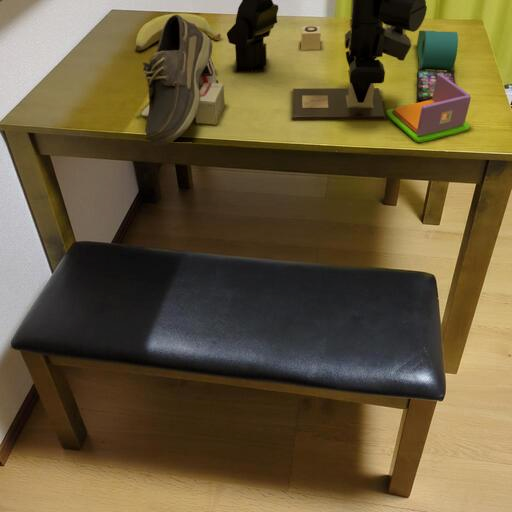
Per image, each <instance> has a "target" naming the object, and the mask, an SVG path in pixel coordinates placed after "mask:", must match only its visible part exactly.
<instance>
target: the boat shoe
mask: <svg viewBox="0 0 512 512" xmlns="http://www.w3.org/2000/svg"><path fill="white" fill-rule="evenodd" d="M212 54H213V42H212V40H211V38H210V37H209V36H208V34H205V33H203V32H201V31H200V30H199V29H198V28H197V27H196V25H195V24H193V23H190V22H187V21H186V20H184V19H183V18H182V17H181V16H179V15H173V16H171V17H170V18H169V19H168V20H167V22H166V24H165V26H164V28H163V31H162V34H161V38H160V40H158V45H157V49H156V52H154V53H152V54H151V56H150V58H149V62H145V61H143V62H142V65H143V68H142V69H141V72H142V73H143V74H145V77H144V79H145V80H147V81H146V82H147V87H148V100H149V101H148V105H149V114H148V117H147V120H146V125H145V134H146V136H147V139H148V140H149V142H151V144H152V145H153V146H155V147H162V146H166V145H168V144H170V143H172V142H174V141H175V140H177V139H178V138H180V137H181V136H182V135H183V134H184V133H185V131H187V129H189V127H190V125H191V124H192V122H193V121H194V119H195V116H196V114H197V111H198V109H199V105H200V91H199V79H200V76H201V74H202V72H203V70H204V69H205V67H206V65H207V64H208V62H209V59H210V57H212Z"/></svg>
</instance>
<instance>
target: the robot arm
mask: <svg viewBox="0 0 512 512" xmlns="http://www.w3.org/2000/svg"><path fill="white" fill-rule="evenodd" d="M427 10H428V5H427V1H426V0H352V6H351V18H350V19H349V30H348V31H347V32H346V33H345V34H344V49H346V50H347V49H348V51H346V52H345V56H346V62H347V65H348V70H347V72H348V78H349V80H350V82H351V83H352V86H353V89H354V92H355V95H356V98H357V101H358V102H359V103H363V102H364V100H365V97H366V95H367V92H368V89H369V87H370V85H371V83H373V84H383V83H384V82H385V76H386V70H385V67H384V64H383V62H381V60H380V59H377V58H383V54H385V55H387V56H389V57H393V58H396V59H397V60H398V61H402V62H403V61H405V58H406V57H407V55H408V53H409V51H410V49H411V47H412V42H411V39H410V37H409V36H408V35H407V34H406V33H405V34H404V35H403V29H404V30H406V31H409V32H412V33H413V32H417V31H418V30H419V29H420V28H421V26H422V24H423V23H424V20H425V18H426V14H427ZM236 12H237V13H236V17H235V22H234V24H233V25H232V26H231V27H230V29H229V30H228V31H227V32H226V36H227V40H228V43H229V44H231V45H234V50H235V68H234V70H235V72H264V71H265V66H266V65H267V61H268V59H267V57H268V56H267V54H268V53H267V43H266V42H264V41H265V39H264V38H267V37H269V36H270V35H271V31H272V29H273V28H274V27H275V24H277V23H278V13H279V5H278V4H275V3H274V1H273V0H242V1H240V4H239V5H238V8H237V11H236ZM385 24H386V25H389V26H391V27H390V28H387V29H385V27H384V25H385Z"/></svg>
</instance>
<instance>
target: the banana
mask: <svg viewBox="0 0 512 512" xmlns="http://www.w3.org/2000/svg"><path fill="white" fill-rule="evenodd" d="M173 15H179V16H181V17H182V18H183V19H184V20H186V21H187V22H190V23H193V24H195V25H196V27H197V28H198V29H199V30H200V31H201V32H203V33H205V34H206V35H209V36H210V37H212V38H214V40H215V41H219V40H220V39H221V33H219V32H216V31H213V29H212V28H211V26H210V24H209V22H208V20H207V19H206V18H204V17H202V16H200V15H198V14H195V13H194V14H193V13H181V12H180V13H168V14H164V15H161V16H157V17H155V18H152V19H151V20H149V21H147V22H146V23H145V24H144V25H143V26H141V28H140V30H139V31H138V32H137V35H136V38H135V48H136V50H137V51H144V50H146V49H147V48H149V47H150V46H152V45H153V44H155V43H156V42H159V41H160V38H161V34H162V31H163V28H164V26H165V24H166V22H167V20H168V19H169V18H170V17H171V16H173Z"/></svg>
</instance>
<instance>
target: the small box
mask: <svg viewBox="0 0 512 512" xmlns="http://www.w3.org/2000/svg"><path fill="white" fill-rule="evenodd" d="M224 87H225V86H224V83H219V82H218V83H203V85H202V87H201V89H200V105H199V109H198V111H197V114H196V116H195V117H194V119H195V123H196V124H201V125H202V124H203V125H213V126H216V125H217V123H218V122H219V119H220V117H221V114H222V113H223V110H224V108H225V104H226V102H225V89H224Z"/></svg>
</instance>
